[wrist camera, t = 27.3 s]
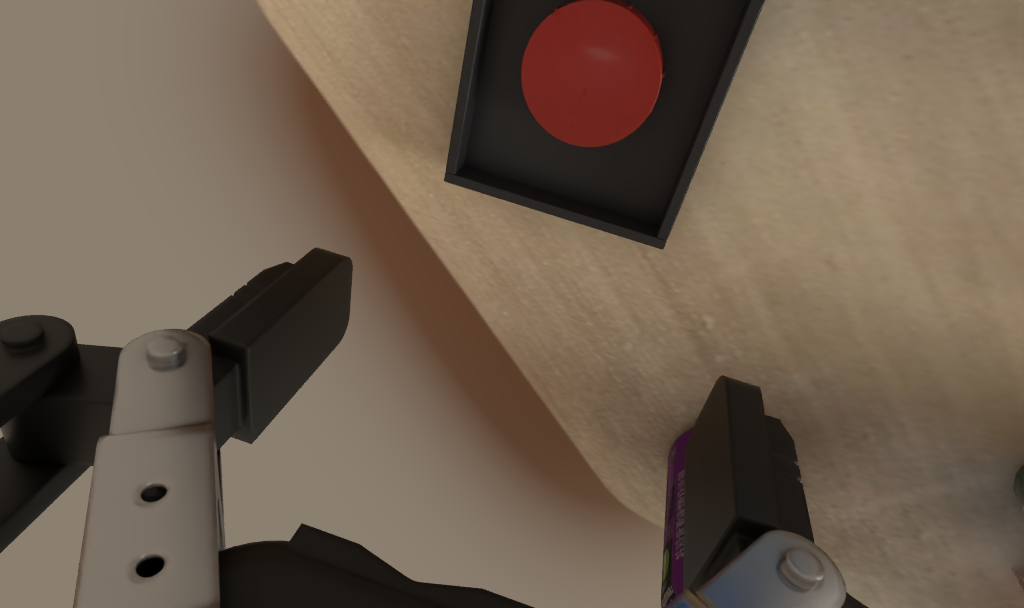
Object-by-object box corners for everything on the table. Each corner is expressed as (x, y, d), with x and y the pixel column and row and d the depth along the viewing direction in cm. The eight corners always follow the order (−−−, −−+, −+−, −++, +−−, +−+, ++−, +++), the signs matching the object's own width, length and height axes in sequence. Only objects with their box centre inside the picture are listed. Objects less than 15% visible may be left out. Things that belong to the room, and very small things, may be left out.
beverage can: (644, 453, 38) (626, 638, 28) (728, 390, 34) (741, 579, 24) (731, 515, 39) (742, 716, 29) (822, 460, 35) (872, 671, 25)
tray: (664, 232, 30) (663, 250, 29) (456, 168, 31) (443, 181, 30) (785, -67, 23) (792, -66, 21) (509, -138, 24) (495, -143, 22)
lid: (597, -39, 25) (591, -36, 23) (692, 69, 26) (692, 77, 24) (504, 69, 28) (493, 77, 26) (593, 161, 29) (587, 174, 28)
